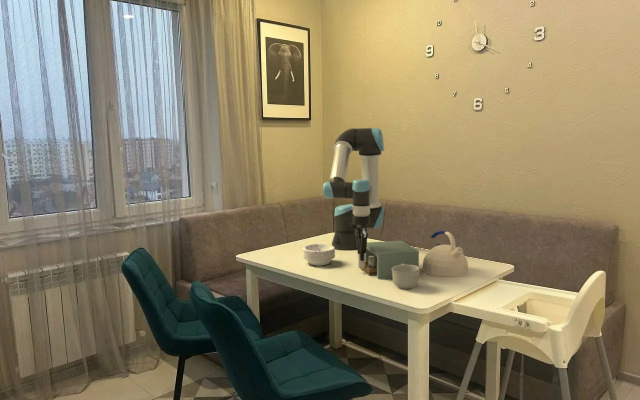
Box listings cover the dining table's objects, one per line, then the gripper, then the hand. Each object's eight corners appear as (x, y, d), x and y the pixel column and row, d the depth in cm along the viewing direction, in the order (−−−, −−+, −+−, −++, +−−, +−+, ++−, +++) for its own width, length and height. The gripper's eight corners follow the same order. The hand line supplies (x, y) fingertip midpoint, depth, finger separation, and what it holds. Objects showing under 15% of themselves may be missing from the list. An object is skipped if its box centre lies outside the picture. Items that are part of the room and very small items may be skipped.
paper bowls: (320, 269, 220) (320, 252, 218) (296, 263, 230) (296, 247, 229) (341, 262, 231) (341, 246, 230) (318, 257, 241) (318, 242, 240)
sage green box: (364, 265, 225) (364, 242, 223) (401, 263, 228) (401, 240, 227) (378, 278, 203) (378, 253, 202) (418, 276, 207) (418, 251, 205)
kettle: (441, 279, 202) (442, 237, 199) (412, 267, 220) (413, 229, 218) (479, 273, 210) (480, 233, 207) (448, 262, 228) (449, 225, 226)
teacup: (419, 291, 186) (419, 271, 185) (390, 290, 188) (391, 270, 187) (419, 281, 200) (419, 262, 199) (392, 279, 202) (392, 261, 201)
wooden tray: (359, 269, 220) (359, 254, 219) (391, 266, 224) (391, 251, 223) (369, 276, 209) (369, 260, 208) (402, 273, 213) (403, 258, 212)
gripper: (349, 213, 216) (349, 264, 219) (356, 217, 203) (356, 271, 206) (365, 212, 217) (365, 263, 220) (373, 216, 204) (373, 270, 207)
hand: (361, 267), depth 213 cm, fingers closed
